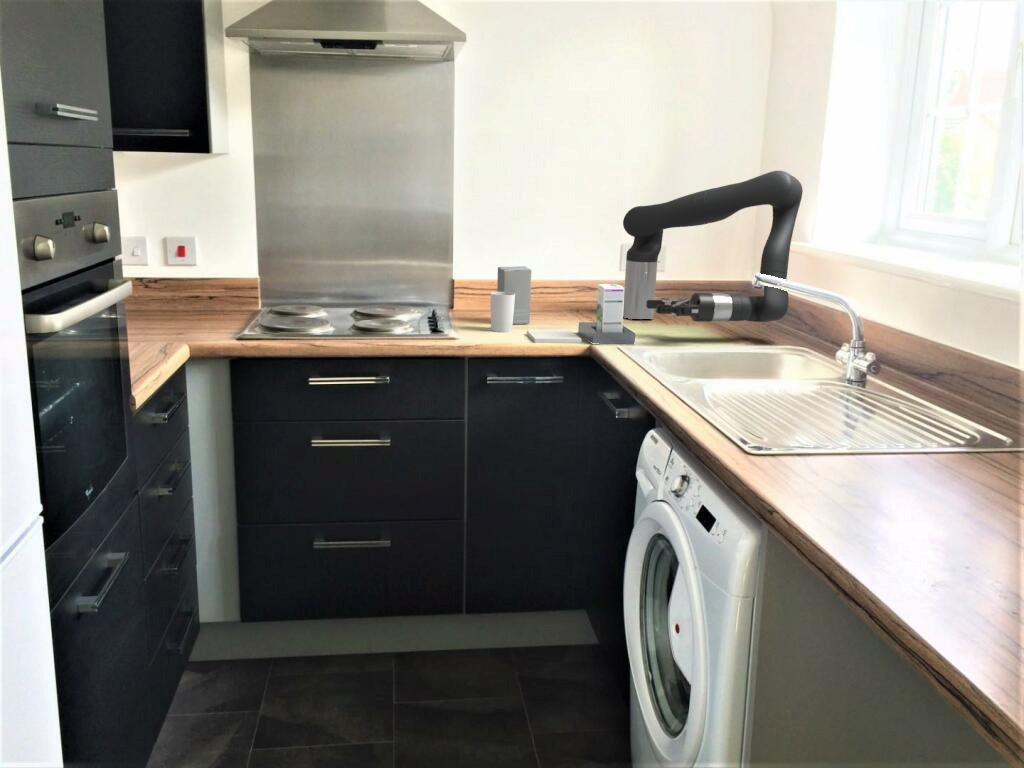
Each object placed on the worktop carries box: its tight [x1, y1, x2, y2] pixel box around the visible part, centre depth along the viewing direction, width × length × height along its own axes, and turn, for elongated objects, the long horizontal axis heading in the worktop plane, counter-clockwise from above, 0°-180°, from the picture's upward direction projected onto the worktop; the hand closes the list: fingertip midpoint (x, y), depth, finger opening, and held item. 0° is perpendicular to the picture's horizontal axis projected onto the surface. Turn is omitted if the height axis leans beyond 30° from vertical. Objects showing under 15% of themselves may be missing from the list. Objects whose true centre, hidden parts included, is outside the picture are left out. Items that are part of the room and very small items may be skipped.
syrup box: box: [595, 283, 625, 332], centre depth 242 cm, size 6×6×14 cm
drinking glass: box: [490, 291, 515, 333], centre depth 251 cm, size 7×7×10 cm
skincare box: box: [496, 265, 533, 325], centre depth 263 cm, size 8×7×16 cm
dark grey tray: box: [577, 321, 636, 344], centre depth 245 cm, size 16×11×4 cm
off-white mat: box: [526, 329, 582, 344], centre depth 243 cm, size 12×12×1 cm
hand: (651, 306), depth 243 cm, fingers open, 8 cm apart
